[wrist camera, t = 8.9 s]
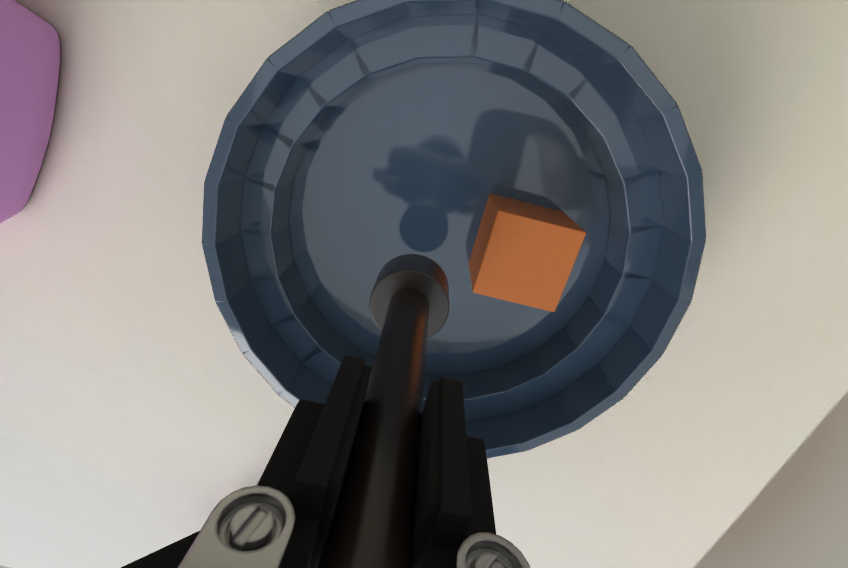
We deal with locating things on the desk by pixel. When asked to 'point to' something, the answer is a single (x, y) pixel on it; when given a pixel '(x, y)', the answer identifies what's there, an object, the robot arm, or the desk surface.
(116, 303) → the desk surface
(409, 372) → the dark grey bolt
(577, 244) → the block
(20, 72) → the teapot
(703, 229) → the bowl
